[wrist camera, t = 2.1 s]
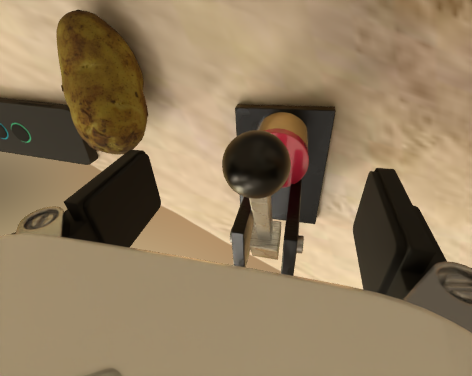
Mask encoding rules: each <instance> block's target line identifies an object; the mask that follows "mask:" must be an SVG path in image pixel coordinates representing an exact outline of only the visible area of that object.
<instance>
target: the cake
mask: <svg viewBox="0 0 472 376" xmlns="http://www.w3.org/2000/svg"><path fill="white" fill-rule="evenodd" d="M257 130H260V131H266V132H269V133H271V134H273V135H275V136H276V137H278V138H279V139H280V140H281V141H282V142H283V143H284V145H285V146H286V148H287V150H288V152H289V156H290V161H291V168H290V173H289V176H288V179H287V181H286V182H285V184H284V185H283V186H282V188H285V187H289V186H291V184H295V183H297V182H298V181H300V180H301V179H302V178H303V176H304V175H305V173H306V172H307V169H308V165H309V152H308V130H307V127H306V125H305V124H304V122H303V121H302V120H301V119H300V118H298V117H297V116H295V115H293V114H290V113H286V112H278V113H274V114H271V115H269V116H267V117H266V118H264V119H263V120H262V121H261V123H260V124H259V126H258V128H257Z"/></svg>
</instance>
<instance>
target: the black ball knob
mask: <svg viewBox="0 0 472 376" xmlns="http://www.w3.org/2000/svg"><path fill="white" fill-rule="evenodd" d="M222 168H223V174H224V177H225V179H226V181H227V183H228V184H229V186H230V187H231V188H232V189H233V190H234V191H235V192H237V193H238V194H240V195H242V196H244V197H247V198H249V200H250V204H251V209H252V213H253V218H254V223H253V229H252V235H251V240H250V249H251V252H252V255H253V256H258V257H264V258H270V259H276V260H278V253H279V245H280V236H281V222H278V221H272V204H271V195H273V194H274V193H276V192H277V191H278V190H280V189H281V188H282V186H283V185H284V184H285V182H286V181H287V179H288V176H289V173H290V168H291V161H290V156H289V152H288V150H287V148H286V146H285V145H284V143H283V142H282V141H281V140H280V139H279V138H278V137H276V136H275V135H273V134H271V133H269V132H266V131H260V130H253V131H248V132H245V133H242V134H240V135H239V136H237V137H236V138H235V139H233V140H232V141H231V143H230V144H229V145H228V147H227V148H226V150H225V153H224V156H223V161H222Z"/></svg>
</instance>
